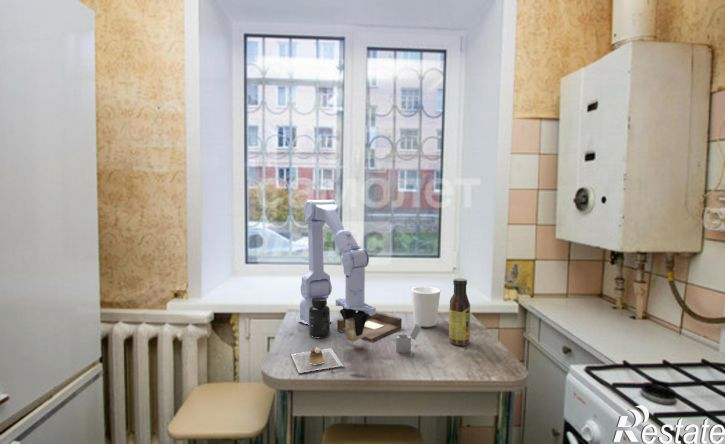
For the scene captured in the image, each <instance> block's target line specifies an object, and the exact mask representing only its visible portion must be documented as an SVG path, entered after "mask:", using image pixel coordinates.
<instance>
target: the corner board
mask: <svg viewBox="0 0 725 444" xmlns="http://www.w3.org/2000/svg"><path fill="white" fill-rule="evenodd" d="M402 321H403V320H402V317H397V316H394V315H391V314H387V313H383V312H380V311H376V314H375V315H372V316H370V315H369V317H368V318H367V320H366V323H365V325H364V337H363V338H361V339H362V340H364V341H366V342H367V341H368V342H369V343H370V342H374V341H376V340H379V339H381V338H383V337H385V336H387V335H390V334H392V333H395V332H397V331H399V330H401V329H402ZM336 322H337V326H336V327H337V328H336V329H338V330H340V331H339V332H341V331H343V332H342V333H344V332H345V333H344V334H346V324H345V321H344V319H343V317H342V318H339V319H337V321H336ZM338 330H337V331H338Z"/></svg>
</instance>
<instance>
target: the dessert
mask: <svg viewBox="0 0 725 444" xmlns="http://www.w3.org/2000/svg"><path fill="white" fill-rule="evenodd" d="M325 351H326V352H327V353H328V351H329V352H330V353H331V355H332V356H333V357H334V359H335V360H336V362H337V364H338V365H339V366H337V364H336V365H334V366H327V367H323V368H317V369H316V368H315V369H310V370H302V371H303V372H301V371H300V369H299V366H298V365H297V363H296V360H295V358H294V356H293V355H296V354H307V353H310V355H309V357H308V361H309V363H312V364H319V363H322V362H324V363H325V358H324V355H323V354H324V353H322V352H325ZM290 355H291V358H292V360H293V363H294V365H295V367H296V369H297V372H298V374H305V373H304V372H306V373H310V371H312V372H317V371H316V370H318V371H323V370H322V369H324V370H329V368H330V369H335V367H336V368H340V367H344V364H343V363H342V361H341V360H340V358H339V357H338V355H337V354H336V352H334V350H333V349H332V348H331V347H330V348H324V349H320V348H319V347H317V346H316V348H313V349H311V350H310V351H302V352H298V353H291V354H290ZM308 361H307V362H308ZM309 363H308V364H309Z"/></svg>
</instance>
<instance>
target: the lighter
mask: <svg viewBox="0 0 725 444" xmlns="http://www.w3.org/2000/svg"><path fill="white" fill-rule="evenodd" d="M414 325H415V324H414ZM421 329H422V326H420V325H418V324H416V325H415V326H414V328H413V330H412V331H411V333H410V335H408V333H407V332H402V333H401V332H400V333H399V334H398V335H397V336H395V342H396V343H395V351H396V353H401V354H402V353H403V354H404V353H411V352H412V351H411V350H412V349H411V348H412V347H411V346H412V340H414V341H415V340H416V339H417V337H418V335H419V333H420V331H421Z"/></svg>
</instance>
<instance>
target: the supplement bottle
mask: <svg viewBox="0 0 725 444" xmlns="http://www.w3.org/2000/svg"><path fill="white" fill-rule="evenodd" d="M327 301H328V298H325V297H314V298H312V305H313V306H311V307H310V308H309V326H308V335H309V336H310V335H311V336H313V337H324V338H327V337H329V336H330V334H331V323H330V321H331V313H330V312H331V308H330V307H329V306H328V302H327ZM311 336H310V337H311ZM326 336H327V337H326ZM313 337H312V338H313Z"/></svg>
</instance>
